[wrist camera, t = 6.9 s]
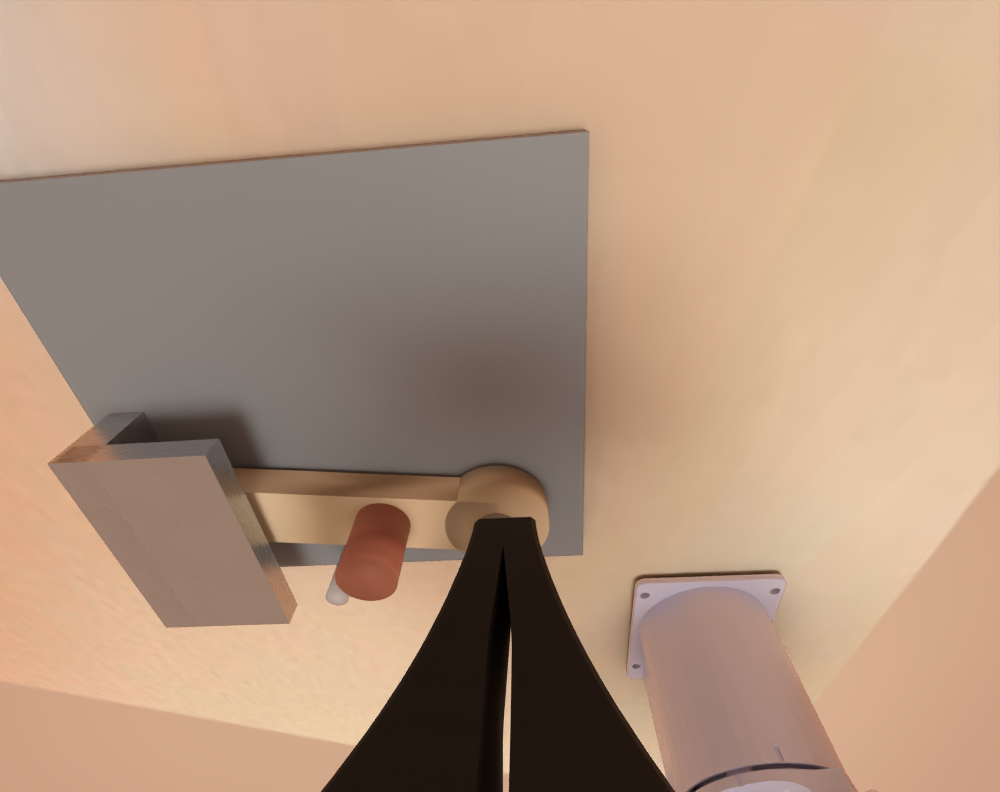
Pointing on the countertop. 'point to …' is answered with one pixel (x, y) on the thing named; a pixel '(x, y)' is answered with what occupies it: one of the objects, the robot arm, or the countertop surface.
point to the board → (328, 309)
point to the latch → (386, 515)
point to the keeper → (176, 524)
